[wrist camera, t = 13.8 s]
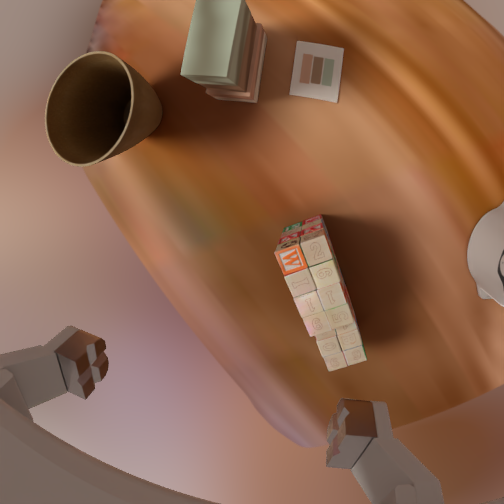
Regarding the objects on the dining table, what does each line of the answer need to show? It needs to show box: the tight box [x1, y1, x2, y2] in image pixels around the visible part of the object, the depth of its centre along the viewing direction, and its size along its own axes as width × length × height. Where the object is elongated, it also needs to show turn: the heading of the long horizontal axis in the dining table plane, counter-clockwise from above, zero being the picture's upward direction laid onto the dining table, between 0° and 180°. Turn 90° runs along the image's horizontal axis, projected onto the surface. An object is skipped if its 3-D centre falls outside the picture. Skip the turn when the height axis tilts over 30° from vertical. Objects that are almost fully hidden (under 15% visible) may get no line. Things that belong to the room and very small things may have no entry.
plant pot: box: [45, 51, 163, 167], centre depth 38 cm, size 15×15×16 cm
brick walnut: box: [198, 15, 257, 93], centre depth 33 cm, size 5×10×5 cm, turn 172°
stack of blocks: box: [275, 215, 367, 371], centre depth 43 cm, size 21×6×12 cm, turn 24°
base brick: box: [206, 23, 267, 103], centre depth 38 cm, size 6×11×6 cm, turn 172°
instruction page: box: [289, 41, 344, 103], centre depth 39 cm, size 7×9×1 cm
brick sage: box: [180, 0, 251, 86], centre depth 28 cm, size 5×10×5 cm, turn 172°
